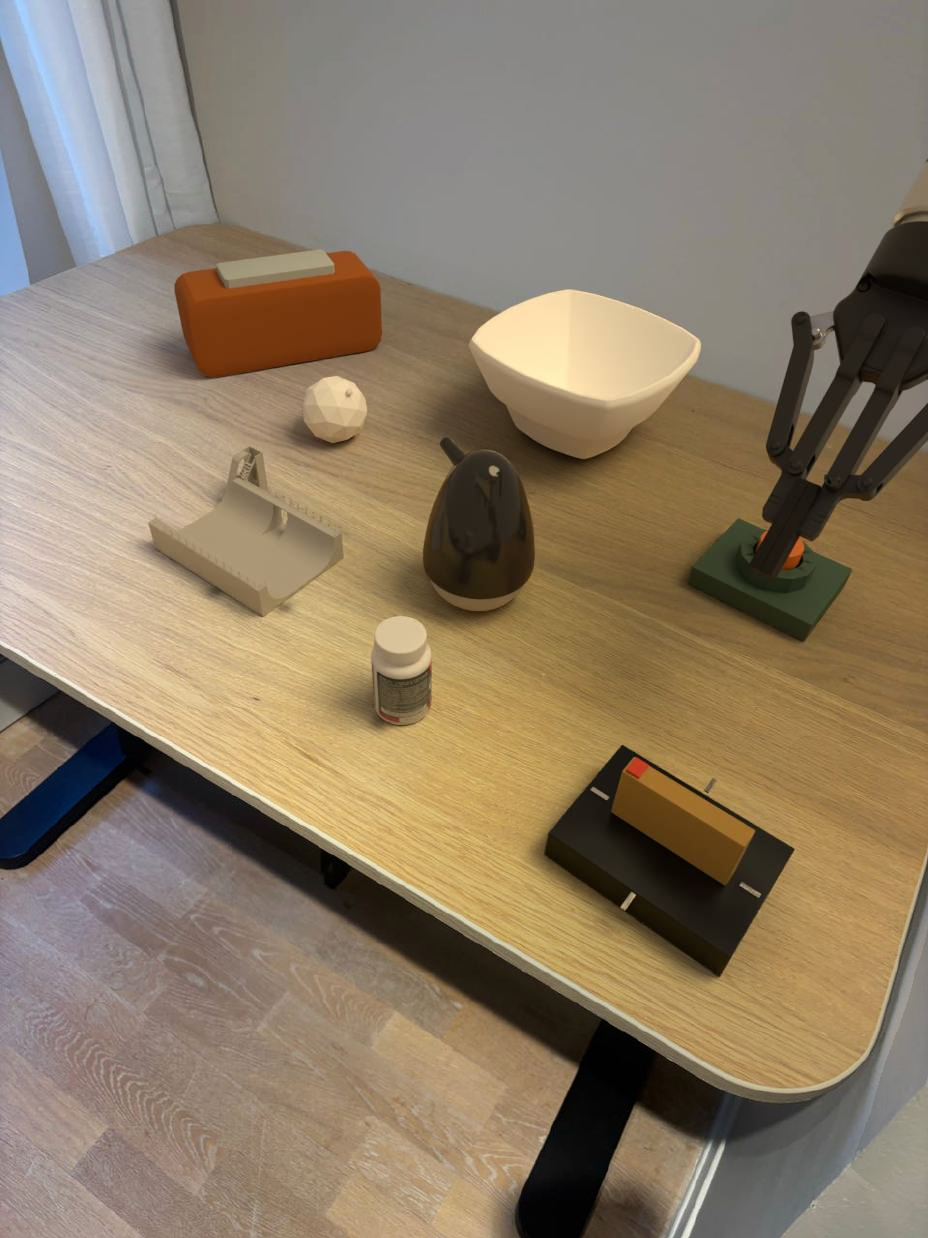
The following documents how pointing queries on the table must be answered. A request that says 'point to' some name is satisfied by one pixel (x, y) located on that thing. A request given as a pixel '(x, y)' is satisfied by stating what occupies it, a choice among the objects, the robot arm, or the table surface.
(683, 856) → the rectangular block
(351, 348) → the alarm clock
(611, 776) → the knob panel
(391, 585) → the table surface
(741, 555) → the button block
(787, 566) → the button
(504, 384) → the bowl
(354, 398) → the ornament
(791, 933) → the table surface
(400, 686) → the pill bottle
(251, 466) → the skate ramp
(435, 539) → the pump dispenser
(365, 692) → the table surface
